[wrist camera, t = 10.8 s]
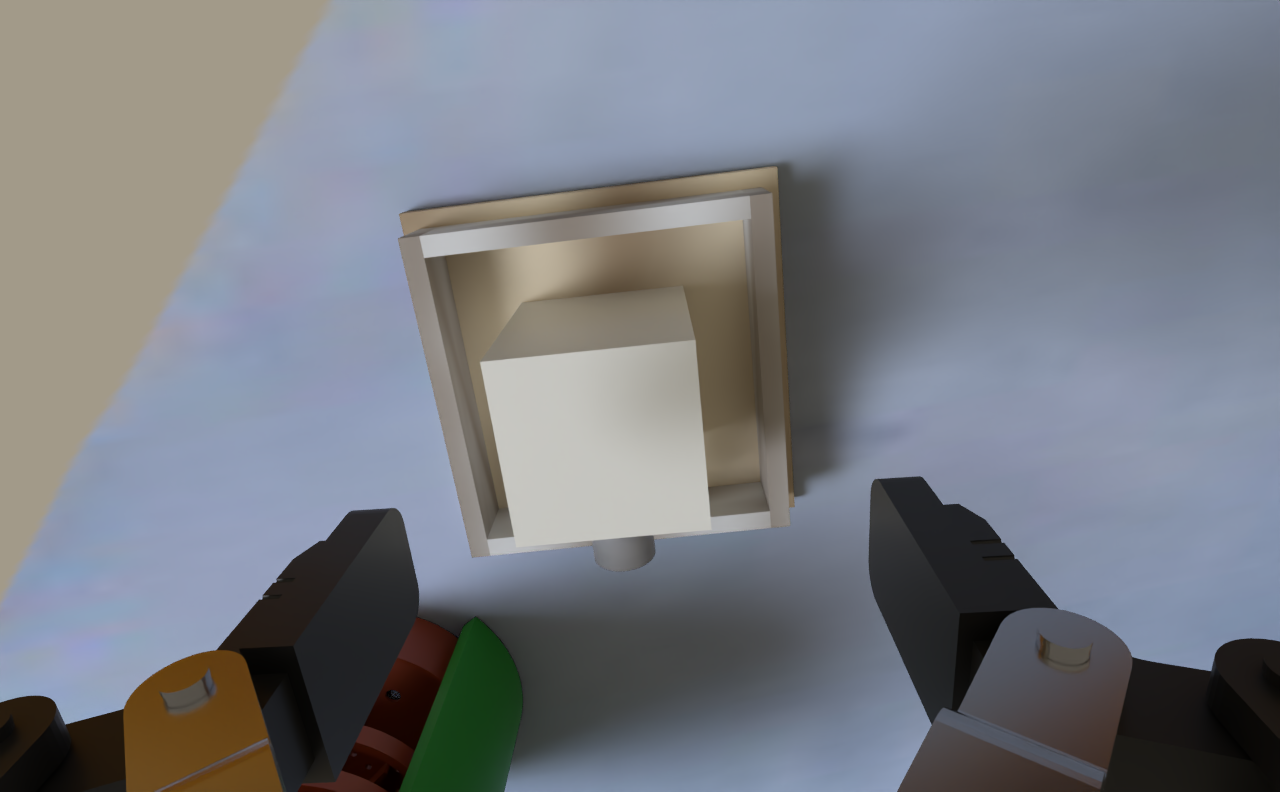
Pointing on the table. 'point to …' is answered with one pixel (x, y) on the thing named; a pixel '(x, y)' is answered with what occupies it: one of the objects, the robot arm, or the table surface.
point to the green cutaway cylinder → (439, 718)
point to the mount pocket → (609, 263)
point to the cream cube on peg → (600, 422)
